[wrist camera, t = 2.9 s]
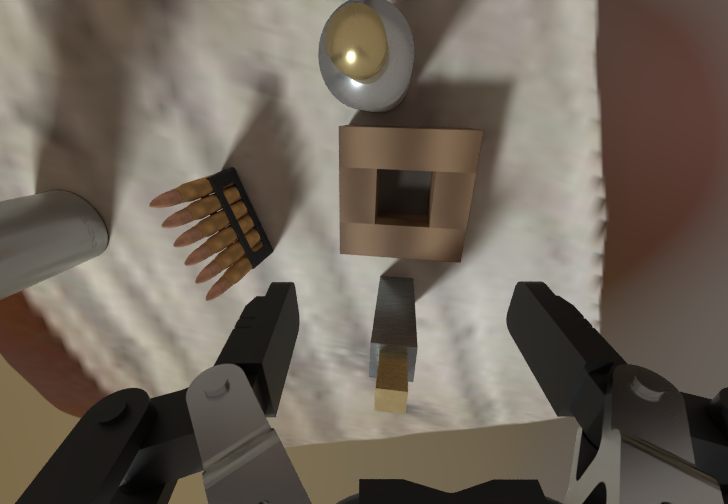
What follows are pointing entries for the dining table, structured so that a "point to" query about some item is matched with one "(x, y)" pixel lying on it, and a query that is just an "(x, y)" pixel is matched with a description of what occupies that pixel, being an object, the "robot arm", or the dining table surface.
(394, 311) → the square bit
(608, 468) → the robot arm
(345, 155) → the socket block
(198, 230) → the ammunition clip
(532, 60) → the dining table surface
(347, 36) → the silver bottle
